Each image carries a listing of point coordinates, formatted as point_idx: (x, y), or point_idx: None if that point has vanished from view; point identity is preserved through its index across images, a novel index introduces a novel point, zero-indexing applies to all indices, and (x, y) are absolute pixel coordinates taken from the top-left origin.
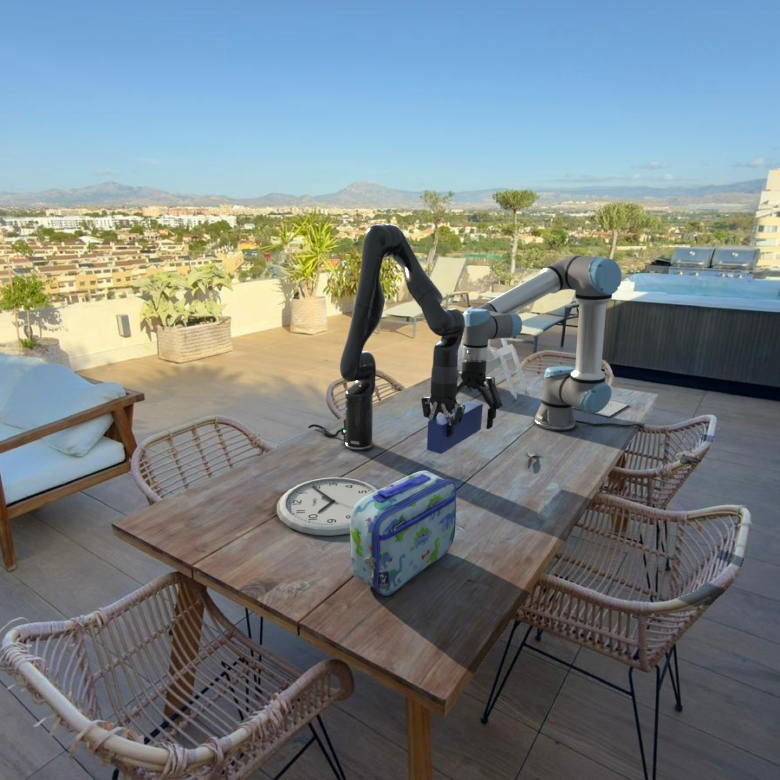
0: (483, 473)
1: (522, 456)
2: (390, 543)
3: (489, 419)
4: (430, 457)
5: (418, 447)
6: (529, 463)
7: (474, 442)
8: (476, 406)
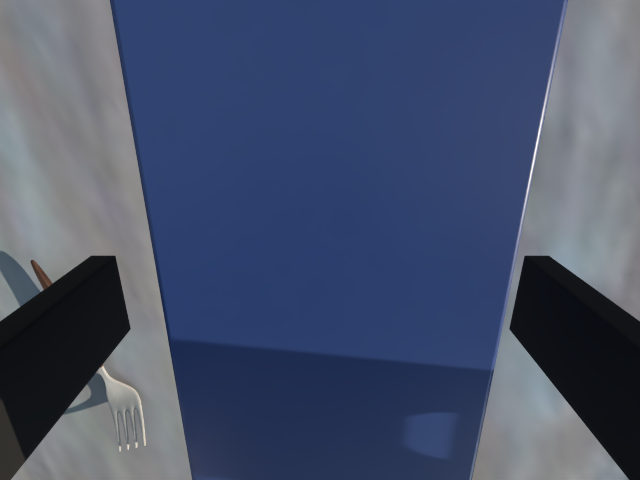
0: None
1: (146, 365)
2: None
3: (13, 313)
4: None
5: (616, 157)
6: None
7: None
8: (199, 445)
